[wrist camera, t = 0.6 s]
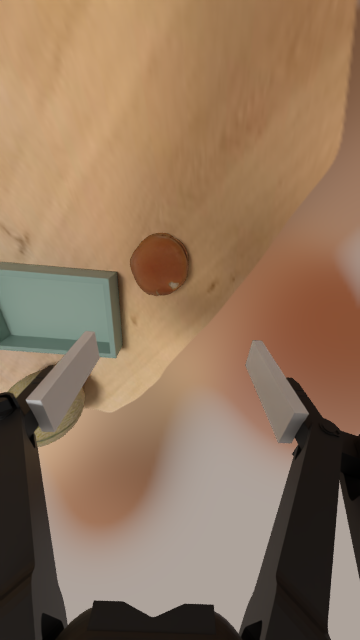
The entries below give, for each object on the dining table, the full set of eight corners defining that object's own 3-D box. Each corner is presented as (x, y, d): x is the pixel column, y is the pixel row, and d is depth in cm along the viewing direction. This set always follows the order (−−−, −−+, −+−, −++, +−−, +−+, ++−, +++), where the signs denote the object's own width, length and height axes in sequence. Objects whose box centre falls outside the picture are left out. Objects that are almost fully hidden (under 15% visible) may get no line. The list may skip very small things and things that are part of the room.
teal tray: (-21, 260, 33) (-49, 265, 29) (117, 271, 33) (108, 278, 29) (10, 336, 40) (-9, 349, 36) (122, 344, 41) (116, 358, 37)
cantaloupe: (105, 392, 48) (76, 458, 35) (58, 405, 51) (14, 470, 37) (71, 349, 42) (20, 408, 28) (19, 365, 44) (-51, 427, 31)
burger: (148, 222, 30) (143, 222, 26) (198, 251, 32) (200, 256, 28) (126, 276, 34) (119, 283, 30) (172, 298, 36) (170, 309, 32)
